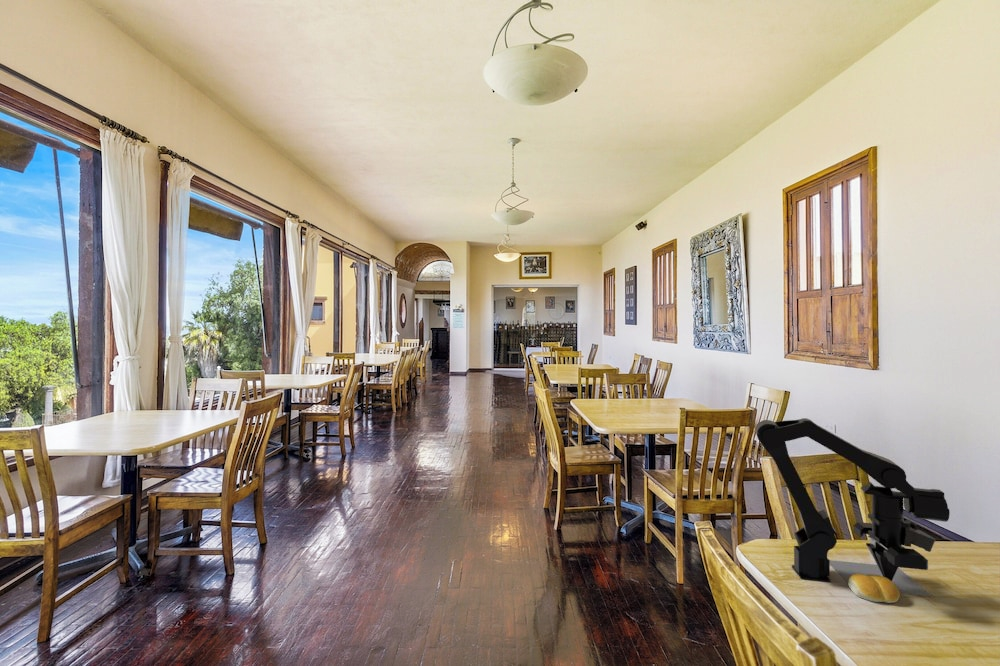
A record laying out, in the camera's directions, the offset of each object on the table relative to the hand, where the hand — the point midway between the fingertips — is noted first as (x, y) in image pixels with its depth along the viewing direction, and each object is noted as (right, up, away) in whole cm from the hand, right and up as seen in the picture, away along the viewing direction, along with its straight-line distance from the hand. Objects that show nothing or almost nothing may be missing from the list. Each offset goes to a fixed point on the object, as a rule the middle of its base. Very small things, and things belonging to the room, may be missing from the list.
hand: (888, 580), depth 109 cm
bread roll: (-3, -2, -1) cm, 4 cm away
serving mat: (+1, -2, +5) cm, 6 cm away
